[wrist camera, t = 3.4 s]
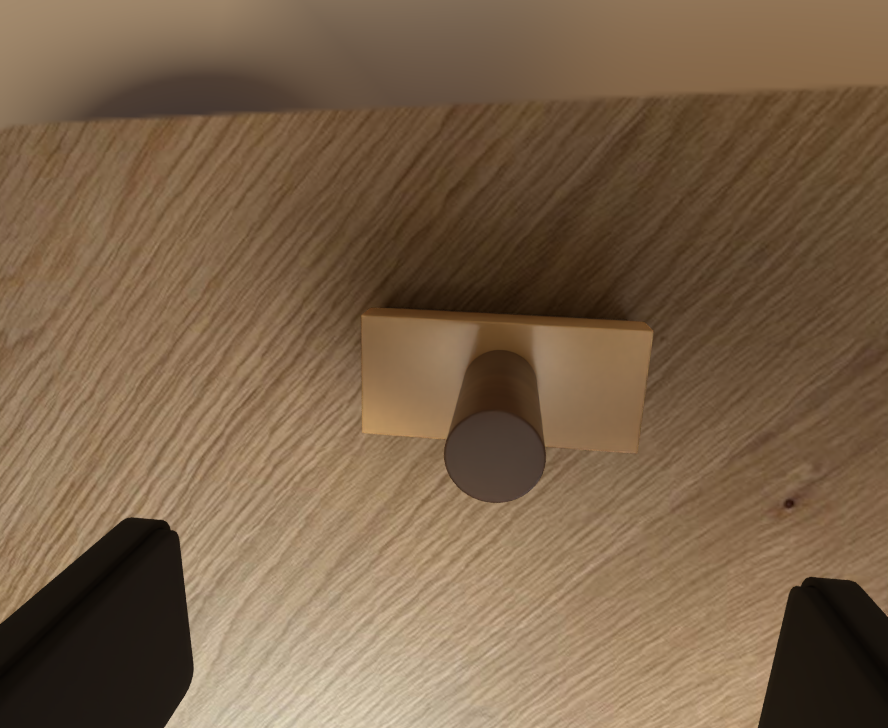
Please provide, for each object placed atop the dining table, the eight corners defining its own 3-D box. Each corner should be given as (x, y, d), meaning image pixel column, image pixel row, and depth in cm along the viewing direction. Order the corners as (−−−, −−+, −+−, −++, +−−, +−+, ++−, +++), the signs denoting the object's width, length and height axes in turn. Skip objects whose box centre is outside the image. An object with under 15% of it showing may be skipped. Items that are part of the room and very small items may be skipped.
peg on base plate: (379, 300, 23) (300, 361, 15) (636, 313, 22) (712, 387, 14) (379, 405, 25) (307, 518, 16) (622, 423, 24) (684, 553, 15)
